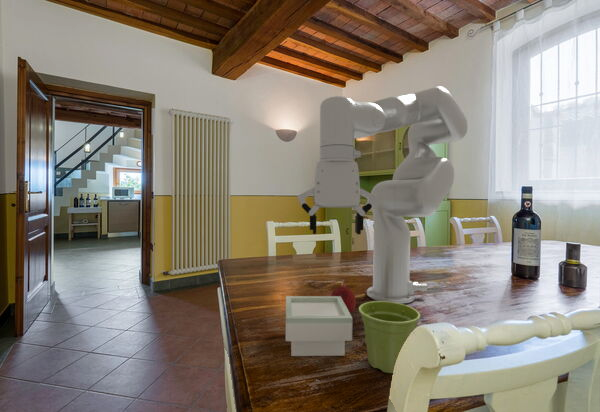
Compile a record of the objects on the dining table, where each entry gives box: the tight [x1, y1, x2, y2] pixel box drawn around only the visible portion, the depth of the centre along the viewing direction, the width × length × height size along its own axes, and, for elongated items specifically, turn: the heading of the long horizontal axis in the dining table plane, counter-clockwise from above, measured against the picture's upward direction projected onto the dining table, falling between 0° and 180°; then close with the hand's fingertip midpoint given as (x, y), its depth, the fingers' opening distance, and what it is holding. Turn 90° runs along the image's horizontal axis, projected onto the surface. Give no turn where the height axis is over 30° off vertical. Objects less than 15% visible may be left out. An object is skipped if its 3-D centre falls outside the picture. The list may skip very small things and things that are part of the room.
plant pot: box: [358, 300, 421, 374], centre depth 48 cm, size 9×9×9 cm
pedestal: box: [285, 295, 353, 357], centre depth 55 cm, size 11×11×7 cm
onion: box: [330, 282, 357, 315], centre depth 66 cm, size 6×6×8 cm
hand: (336, 233), depth 67 cm, fingers open, 9 cm apart
